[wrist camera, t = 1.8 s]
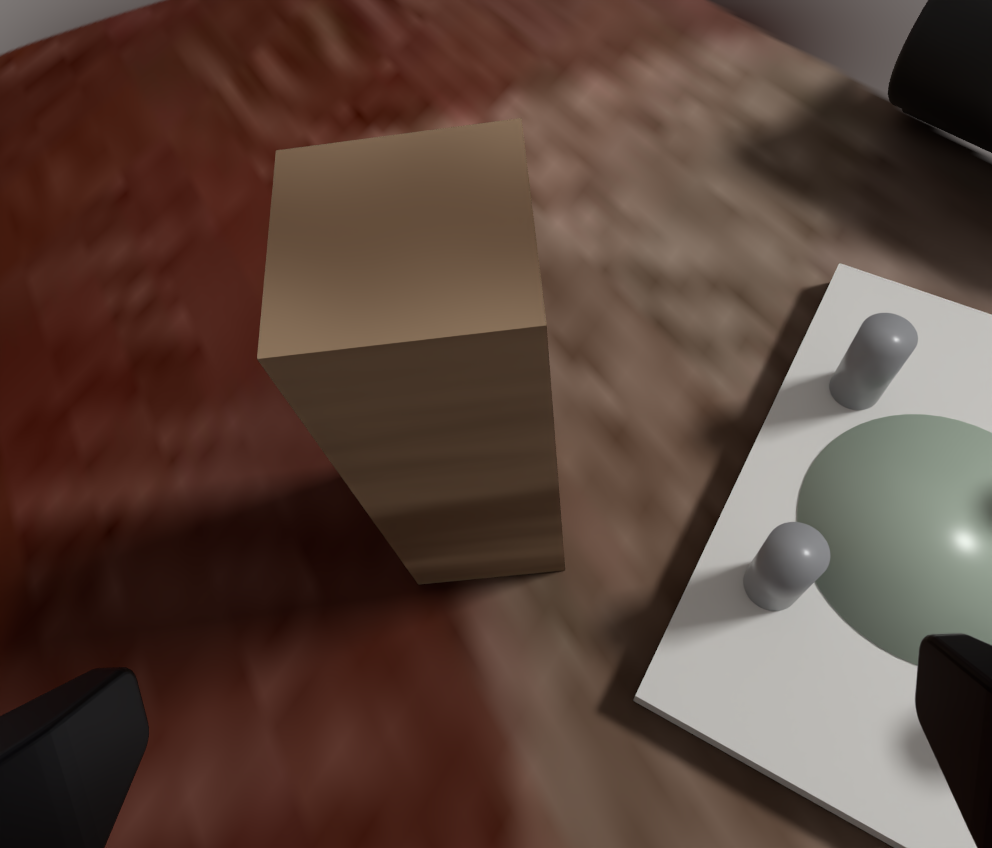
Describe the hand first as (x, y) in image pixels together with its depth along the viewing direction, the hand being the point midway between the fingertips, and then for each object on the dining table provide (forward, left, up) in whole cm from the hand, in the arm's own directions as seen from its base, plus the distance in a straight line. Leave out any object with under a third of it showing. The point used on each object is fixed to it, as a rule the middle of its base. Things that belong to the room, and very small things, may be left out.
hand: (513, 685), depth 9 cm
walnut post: (+5, +5, -14) cm, 16 cm away
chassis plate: (+10, -7, -13) cm, 18 cm away
